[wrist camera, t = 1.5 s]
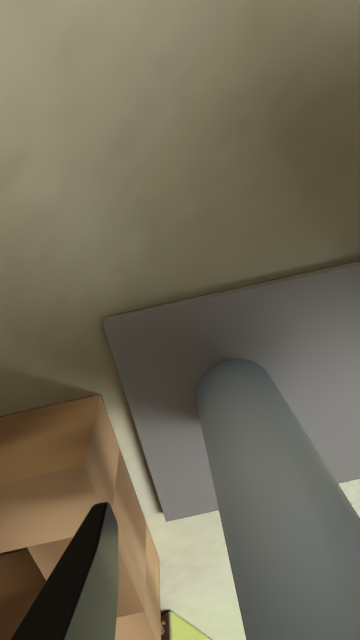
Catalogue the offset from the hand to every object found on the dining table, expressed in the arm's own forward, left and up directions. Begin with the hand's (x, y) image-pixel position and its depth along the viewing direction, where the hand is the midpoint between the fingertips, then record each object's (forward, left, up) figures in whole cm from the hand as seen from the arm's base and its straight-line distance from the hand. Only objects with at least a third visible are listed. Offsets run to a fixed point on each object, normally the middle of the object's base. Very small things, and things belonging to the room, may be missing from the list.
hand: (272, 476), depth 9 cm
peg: (0, 0, -4) cm, 4 cm away
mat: (-1, +1, -4) cm, 5 cm away
